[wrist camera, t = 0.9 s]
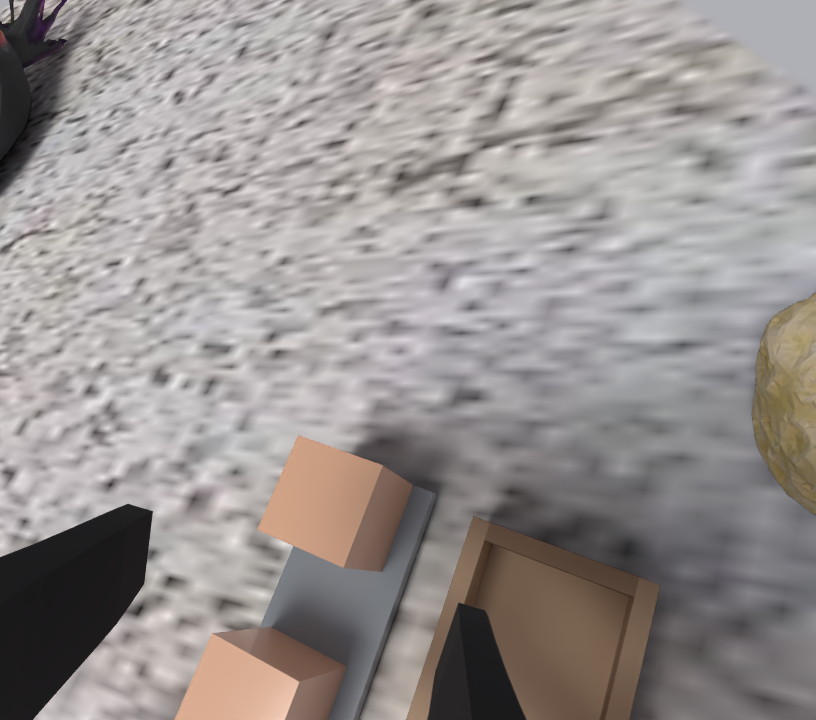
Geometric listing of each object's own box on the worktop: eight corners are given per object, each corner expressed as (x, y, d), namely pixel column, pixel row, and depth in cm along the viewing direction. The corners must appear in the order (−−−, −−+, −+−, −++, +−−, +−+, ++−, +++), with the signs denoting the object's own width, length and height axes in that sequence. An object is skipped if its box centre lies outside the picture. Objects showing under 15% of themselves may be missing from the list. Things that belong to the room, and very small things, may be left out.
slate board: (337, 777, 23) (329, 783, 22) (233, 713, 25) (223, 717, 24) (437, 495, 26) (433, 492, 25) (337, 458, 28) (331, 455, 27)
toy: (110, -11, 49) (-10, -93, 40) (94, 229, 51) (-24, 205, 42) (31, -2, 53) (-96, -75, 43) (18, 222, 54) (-106, 199, 45)
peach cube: (309, 770, 22) (250, 809, 18) (232, 722, 24) (162, 748, 20) (347, 666, 24) (299, 681, 20) (271, 627, 25) (212, 633, 21)
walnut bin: (575, 904, 19) (575, 954, 17) (396, 797, 22) (371, 824, 19) (650, 585, 22) (660, 584, 20) (484, 524, 25) (473, 515, 22)
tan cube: (381, 572, 25) (343, 567, 21) (306, 539, 26) (257, 529, 22) (413, 485, 26) (383, 465, 22) (339, 458, 27) (298, 435, 23)
